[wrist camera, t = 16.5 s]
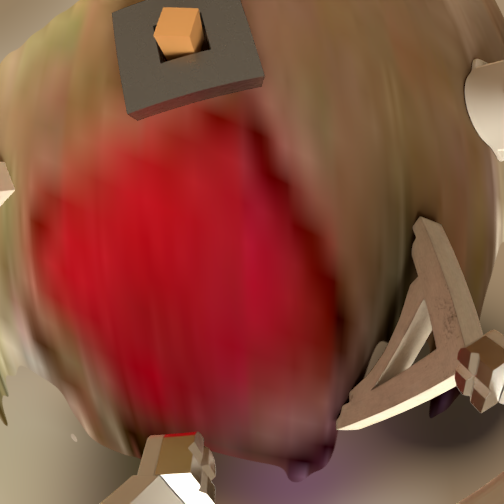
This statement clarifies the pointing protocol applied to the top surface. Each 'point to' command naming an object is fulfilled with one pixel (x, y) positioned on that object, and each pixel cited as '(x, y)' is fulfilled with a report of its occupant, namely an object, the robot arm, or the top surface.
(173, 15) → the square block
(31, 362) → the top surface
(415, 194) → the top surface
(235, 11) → the square hole plate
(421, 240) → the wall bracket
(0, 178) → the corner bracket
